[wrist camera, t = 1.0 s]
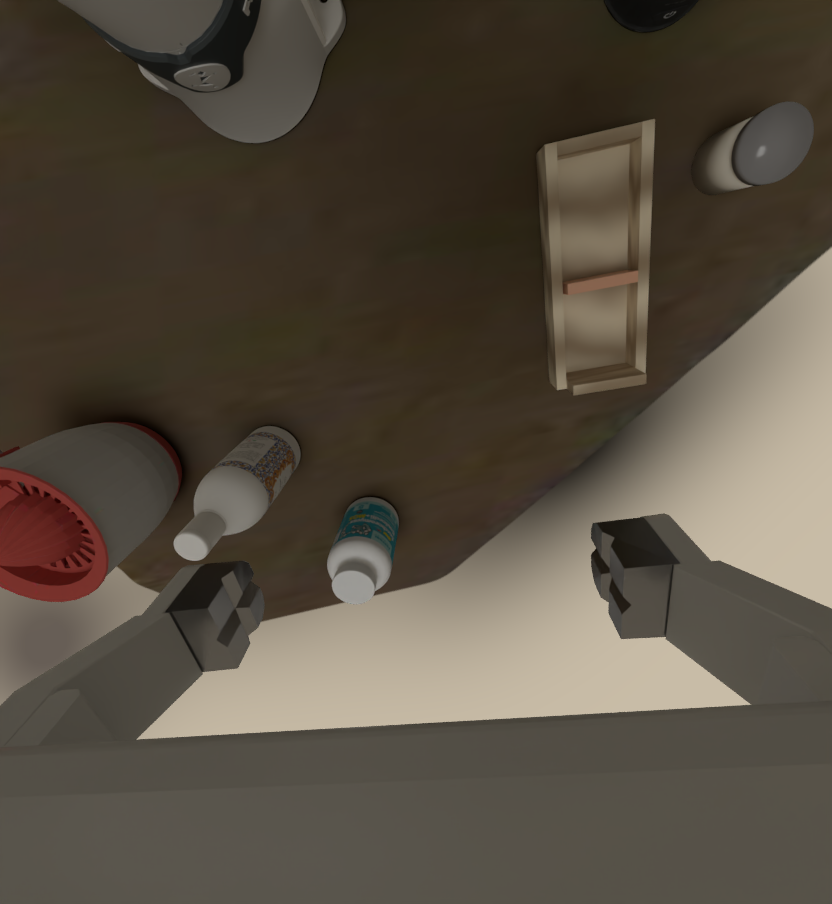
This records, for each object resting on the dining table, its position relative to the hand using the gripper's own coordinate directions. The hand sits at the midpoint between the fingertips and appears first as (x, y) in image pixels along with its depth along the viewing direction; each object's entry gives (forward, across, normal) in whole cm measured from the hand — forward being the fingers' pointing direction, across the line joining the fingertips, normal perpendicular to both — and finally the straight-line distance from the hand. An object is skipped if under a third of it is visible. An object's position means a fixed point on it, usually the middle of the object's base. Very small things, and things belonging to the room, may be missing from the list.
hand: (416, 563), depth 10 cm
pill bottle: (+40, +12, +24) cm, 48 cm away
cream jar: (+40, -28, -10) cm, 50 cm away
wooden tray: (+40, -16, -3) cm, 43 cm away
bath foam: (+40, +22, +12) cm, 47 cm away
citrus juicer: (+40, +41, +10) cm, 58 cm away
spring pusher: (+38, -16, -2) cm, 42 cm away
